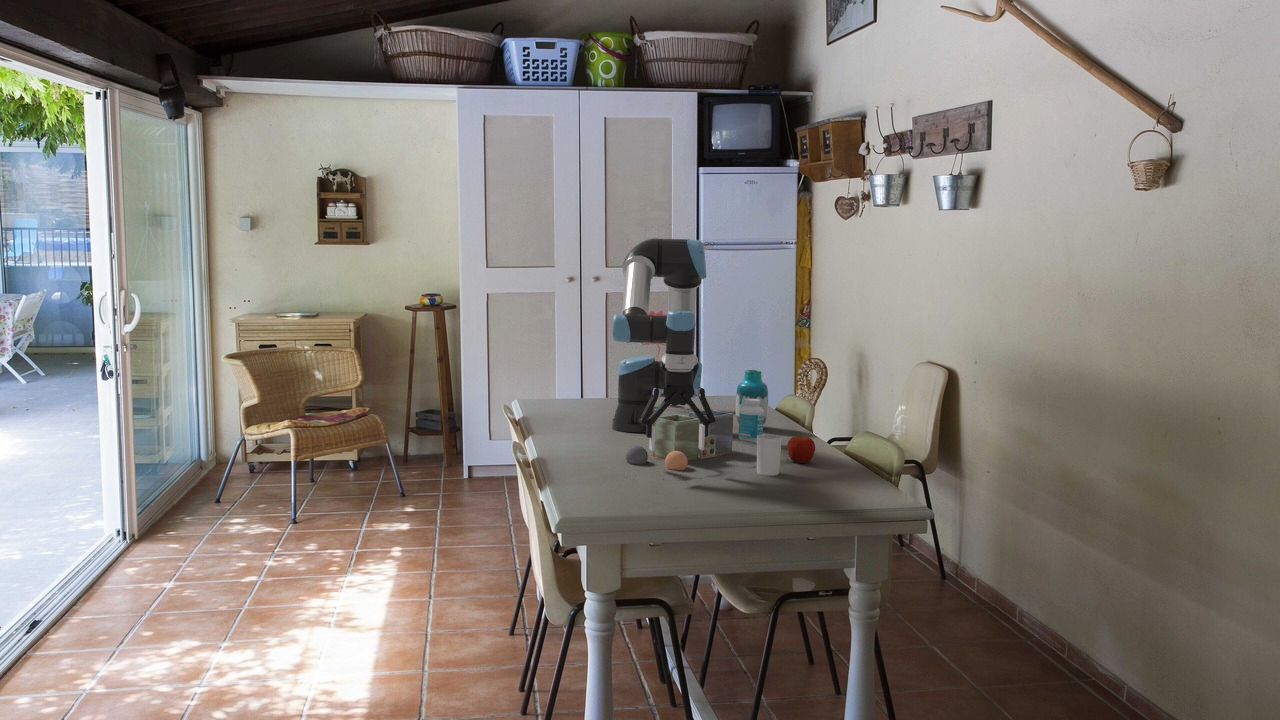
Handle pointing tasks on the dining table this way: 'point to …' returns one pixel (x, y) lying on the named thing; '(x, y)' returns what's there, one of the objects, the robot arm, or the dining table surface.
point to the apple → (801, 449)
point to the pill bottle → (751, 420)
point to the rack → (693, 436)
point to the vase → (752, 392)
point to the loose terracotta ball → (676, 461)
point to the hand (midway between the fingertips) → (676, 449)
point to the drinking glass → (768, 454)
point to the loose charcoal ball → (636, 455)
